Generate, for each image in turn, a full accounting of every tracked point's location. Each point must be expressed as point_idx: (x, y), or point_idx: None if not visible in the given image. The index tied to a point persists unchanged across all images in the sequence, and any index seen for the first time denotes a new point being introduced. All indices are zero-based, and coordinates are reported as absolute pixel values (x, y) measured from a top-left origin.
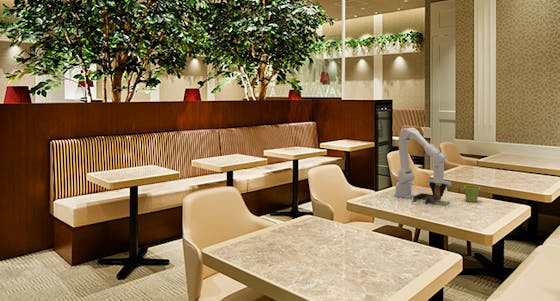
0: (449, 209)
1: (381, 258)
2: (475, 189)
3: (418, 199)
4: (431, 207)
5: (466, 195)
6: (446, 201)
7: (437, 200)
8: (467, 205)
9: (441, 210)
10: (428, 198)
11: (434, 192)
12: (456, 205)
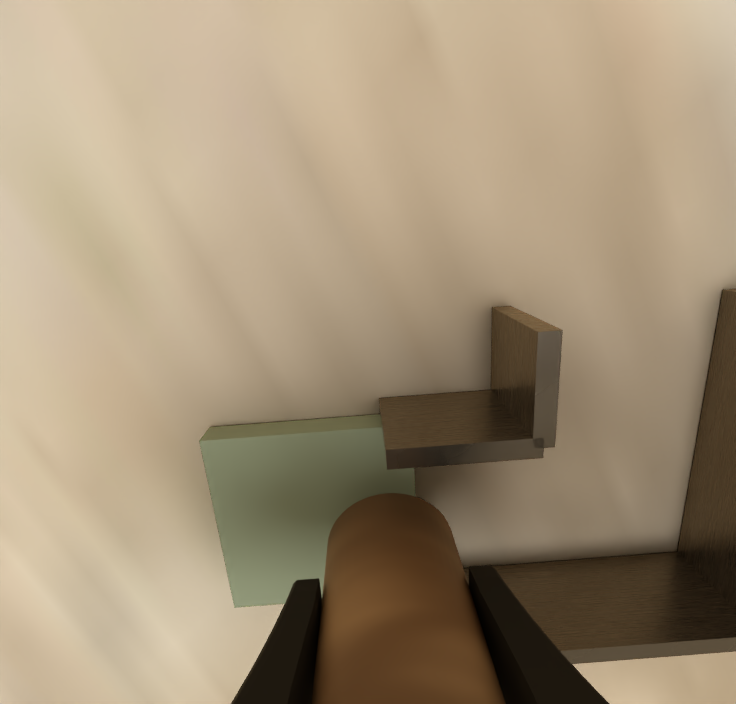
0: (8, 242)
1: None
2: None
3: (703, 459)
4: (308, 137)
5: None
6: (275, 586)
7: None
8: (13, 633)
9: (46, 49)
10: (523, 427)
11: (474, 630)
12: (106, 544)
